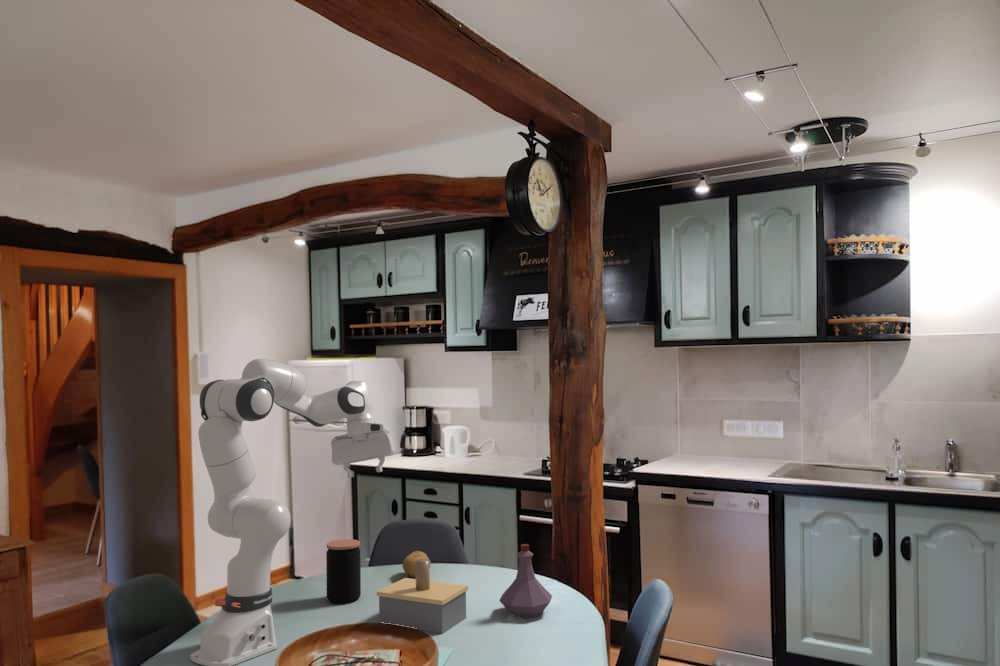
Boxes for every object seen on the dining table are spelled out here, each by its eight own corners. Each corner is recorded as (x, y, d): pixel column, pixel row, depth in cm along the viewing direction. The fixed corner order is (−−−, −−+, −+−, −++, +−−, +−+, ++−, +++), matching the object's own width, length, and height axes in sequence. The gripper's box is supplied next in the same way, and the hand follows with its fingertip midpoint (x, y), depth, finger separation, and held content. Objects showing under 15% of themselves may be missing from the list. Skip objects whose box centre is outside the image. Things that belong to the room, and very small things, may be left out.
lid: (442, 610, 200) (442, 571, 200) (376, 601, 209) (376, 563, 210) (468, 595, 213) (467, 558, 214) (405, 586, 223) (404, 551, 223)
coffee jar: (364, 594, 236) (364, 539, 237) (355, 605, 226) (354, 547, 227) (333, 594, 238) (332, 538, 238) (321, 604, 227) (321, 546, 228)
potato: (399, 582, 249) (399, 559, 250) (406, 571, 263) (405, 549, 264) (427, 582, 249) (427, 559, 249) (432, 571, 263) (432, 548, 264)
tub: (442, 633, 200) (442, 604, 200) (379, 623, 209) (379, 595, 209) (466, 617, 213) (465, 590, 213) (405, 608, 222) (405, 582, 222)
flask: (560, 619, 210) (559, 549, 211) (505, 624, 207) (504, 553, 208) (545, 601, 226) (543, 537, 227) (493, 606, 223) (492, 540, 224)
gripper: (326, 435, 230) (329, 479, 225) (387, 423, 227) (392, 467, 223) (334, 438, 236) (338, 481, 231) (394, 427, 233) (398, 469, 229)
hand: (365, 474), depth 227 cm, fingers open, 8 cm apart
